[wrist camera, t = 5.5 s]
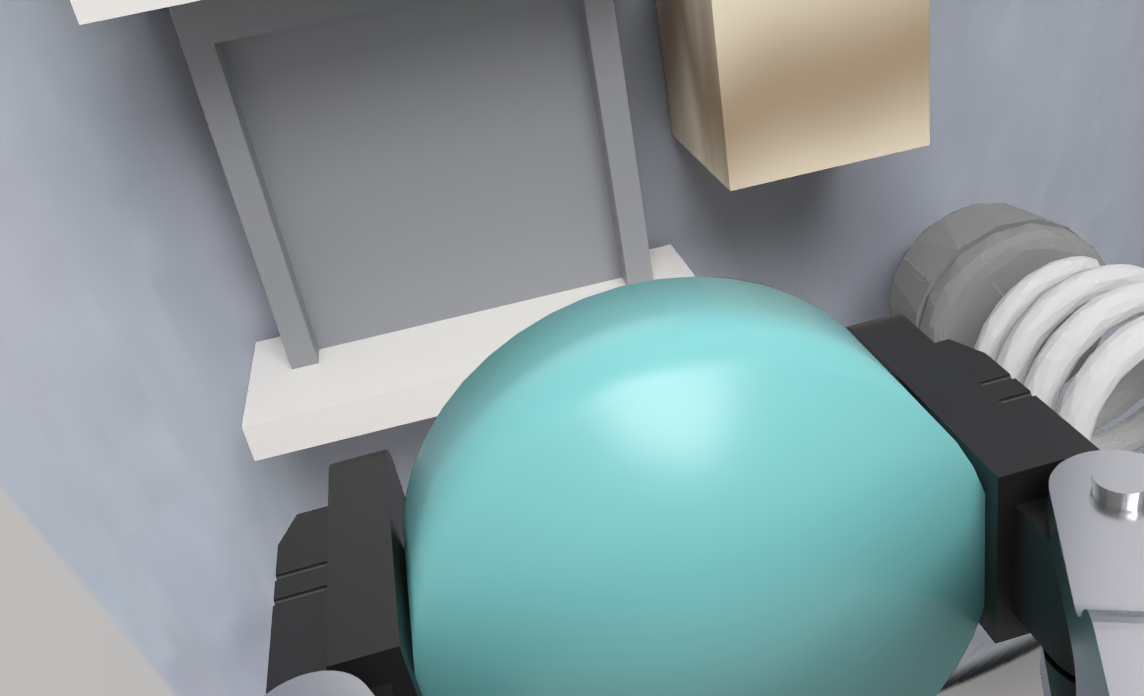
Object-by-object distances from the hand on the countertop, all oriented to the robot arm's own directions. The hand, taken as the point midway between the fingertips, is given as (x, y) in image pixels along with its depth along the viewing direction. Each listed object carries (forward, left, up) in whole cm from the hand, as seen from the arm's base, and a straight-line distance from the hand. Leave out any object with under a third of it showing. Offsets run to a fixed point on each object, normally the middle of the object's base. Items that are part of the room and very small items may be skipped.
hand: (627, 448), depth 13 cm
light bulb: (+7, +13, -17) cm, 22 cm away
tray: (-1, -1, -16) cm, 16 cm away
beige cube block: (-1, +8, -16) cm, 18 cm away
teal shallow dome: (0, 0, +1) cm, 1 cm away
